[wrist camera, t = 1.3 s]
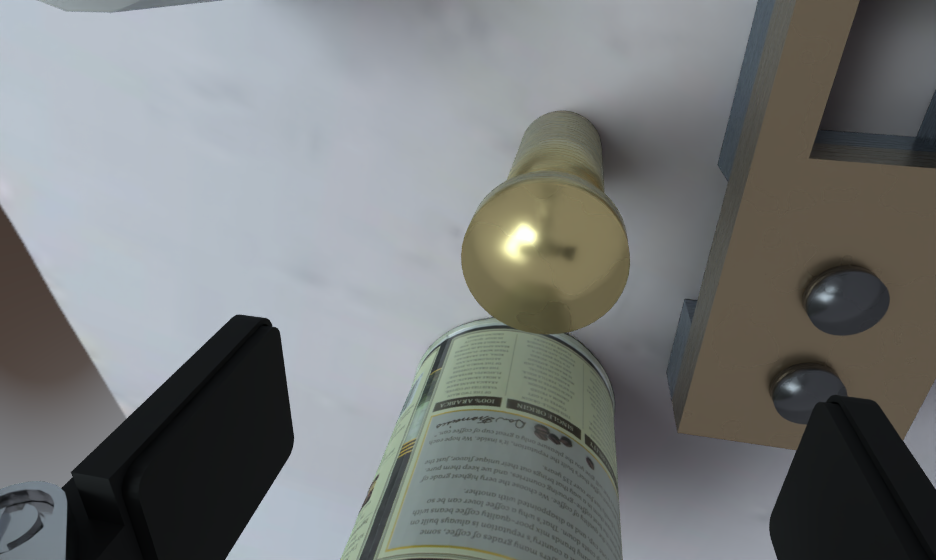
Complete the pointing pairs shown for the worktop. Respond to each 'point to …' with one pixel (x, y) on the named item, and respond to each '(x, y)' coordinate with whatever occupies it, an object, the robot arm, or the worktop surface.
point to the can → (115, 4)
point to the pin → (549, 234)
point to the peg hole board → (809, 251)
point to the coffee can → (497, 455)
